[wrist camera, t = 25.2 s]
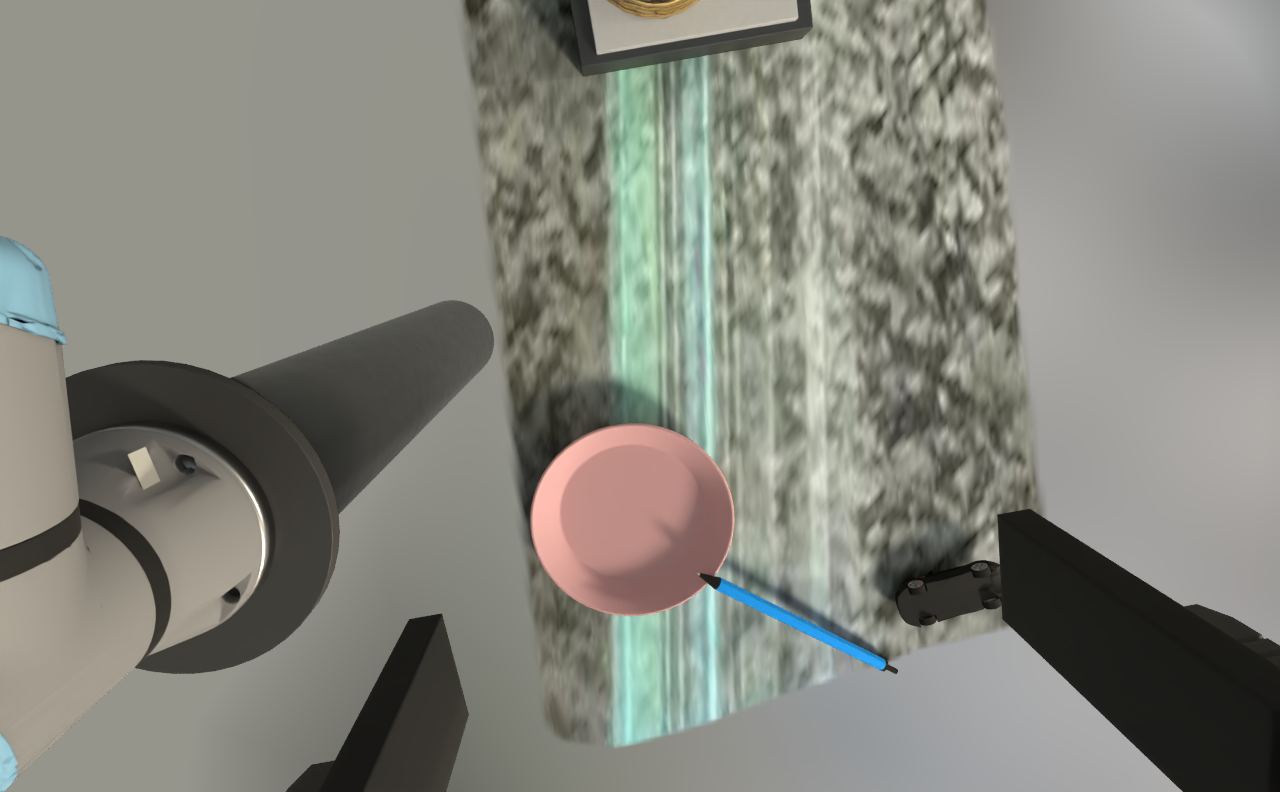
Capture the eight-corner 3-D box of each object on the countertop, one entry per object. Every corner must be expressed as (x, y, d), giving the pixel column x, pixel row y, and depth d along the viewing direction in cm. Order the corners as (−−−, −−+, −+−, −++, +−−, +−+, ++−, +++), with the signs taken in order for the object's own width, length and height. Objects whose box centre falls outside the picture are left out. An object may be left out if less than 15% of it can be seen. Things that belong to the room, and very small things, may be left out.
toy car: (892, 592, 50) (886, 579, 52) (906, 633, 50) (900, 619, 52) (1003, 562, 48) (992, 551, 50) (1017, 605, 49) (1005, 592, 51)
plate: (687, 626, 51) (690, 641, 49) (507, 567, 49) (502, 579, 47) (760, 456, 48) (765, 464, 46) (572, 388, 47) (570, 394, 45)
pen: (902, 668, 52) (892, 662, 53) (702, 569, 47) (696, 565, 48) (897, 679, 52) (888, 672, 53) (697, 581, 47) (691, 576, 48)
